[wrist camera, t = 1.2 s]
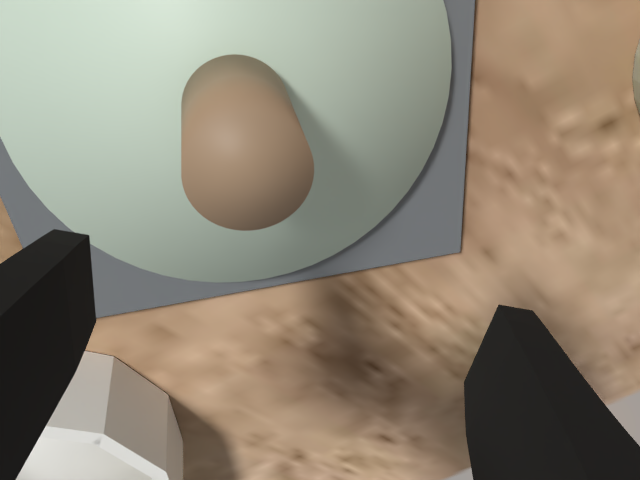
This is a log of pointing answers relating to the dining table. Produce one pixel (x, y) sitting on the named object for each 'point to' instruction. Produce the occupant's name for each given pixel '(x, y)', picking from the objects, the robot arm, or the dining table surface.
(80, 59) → the lid
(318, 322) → the dining table surface
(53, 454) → the bowl
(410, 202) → the mat
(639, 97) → the reusable coffee cup
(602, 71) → the dining table surface
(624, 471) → the robot arm
